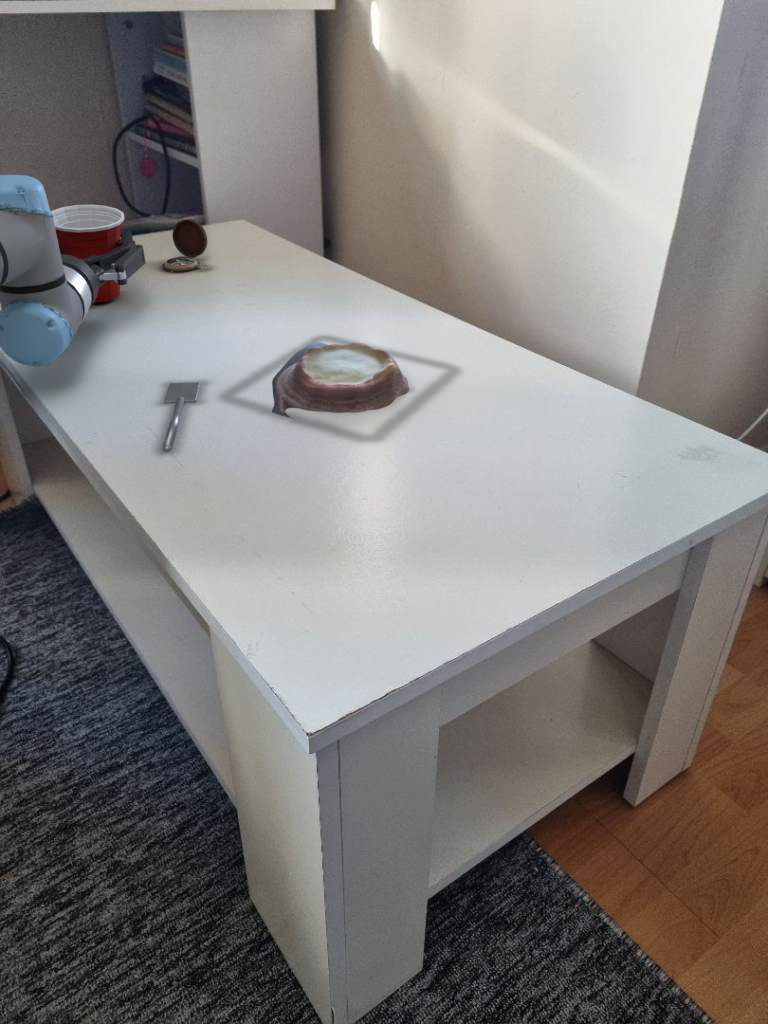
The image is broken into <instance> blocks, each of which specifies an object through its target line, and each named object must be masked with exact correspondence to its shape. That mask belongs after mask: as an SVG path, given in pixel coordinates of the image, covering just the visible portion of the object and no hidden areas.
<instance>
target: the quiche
mask: <svg viewBox="0 0 768 1024" xmlns="http://www.w3.org/2000/svg"><path fill="white" fill-rule="evenodd" d="M271 386H272V387H271V388H272V398H273V407H272V409H271V413H273V414H276V415H279V416H283V417H286V418H289V419H293V420H295V418H293V417H291V416H289V414H287V413H286V411H287V410H288V409H297V410H298V409H299V410H302V411H303V410H304V411H309V412H317V413H320V412H321V413H333V414H347V413H350V414H351V413H352V414H357V413H363V412H367V411H376V410H380V409H384V408H387V407H388V406H391V404H393V403H394V401H395V400H396V399H397V398H399V397H402V396H404V395H406V394H408V393H409V392H410V386H409V381H408V378H407V377H406V376H405V375H404V374H403V372H402V370H401V369H400V367H399V365H398V363H397V361H396V360H395V358H394V357H393V356H392V355H391V354H390V352H388V351H387V350H386V349H382V348H379V347H374V346H371V345H369V344H367V343H365V342H350V343H347V344H346V343H345V344H343V343H342V344H340V343H331V344H328V343H323V342H312V343H310V344H308V345H306V346H305V347H303V348H301V349H300V350H298V351H297V352H295V353H294V354H293V355H292V356H291V357H290V358H289V359H288V360H287V361H286V363H285V364H284V365H282V367H281V368H280V369H279V371H278V372H276V374H275V375H274V377H273V378H272V381H271Z"/></svg>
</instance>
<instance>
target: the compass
mask: <svg viewBox="0 0 768 1024" xmlns="http://www.w3.org/2000/svg"><path fill="white" fill-rule="evenodd" d="M171 237H172V242H173V244H174V246H175V248H176V250H177V251H178V252H179V253H180V254H181V255H183V256H175V257H170V258H167V259H166V260H165V262H164V263H162V264H161V265H162V270H163V271H165V272H168V273H171V274H183V273H190V272H193V271H197V270H198V269H199V270H206V269H209V268H210V266H209V264H201V263H200V261H199V260H197V259H196V257H199V256H201V255H203V254H204V252H205V251H206V249H207V246H208V235H207V232H206V230H205V228H204V227H203V225H202V224H201V223H200V222H199V221H197V220H196V219H193V218H190V217H187V218H183V219H181V220H179V221H177V223H176V224H174V227H173V229H172V236H171ZM204 266H205V267H204Z"/></svg>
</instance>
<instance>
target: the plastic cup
mask: <svg viewBox="0 0 768 1024" xmlns="http://www.w3.org/2000/svg"><path fill="white" fill-rule="evenodd" d="M50 211H51V213H52V214H53V216H54V217H53V221H54V225H55V230H56V235H57V240H58V244H59V248H60V251H61V254H64V255H71V256H74V257H76V258H79V259H85V258H87V257H89V256H91V255H98V256H100V255H102V254H104V253H106V252H108V251H111V250H113V249H115V248H117V247H118V242H119V240H120V239H121V234H122V233H121V231H122V226H123V222H124V221H125V214H124V212H123V211H122V210H120V209H118V208H116V207H112V206H107V205H101V204H100V205H99V204H75V205H68V206H62V207H59V208H56V209H53V210H50ZM120 291H121V285H118V282H114V280H106V283H105V284H104V285H102V286H100V287H99V290H98V294H97V297H96V299H95V301H94V303H103V302H104V303H105V302H109V301H112V300H115V299H117V298H118V297H119V296H120V293H121V292H120Z"/></svg>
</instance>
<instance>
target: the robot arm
mask: <svg viewBox="0 0 768 1024" xmlns="http://www.w3.org/2000/svg"><path fill="white" fill-rule="evenodd" d="M51 211H52V210H51V207H50V204H49V200H48V197H47V193H46V189H45V187H44V184H43V183H42V182H41V181H40V180H38V179H37V178H35V177H33V176H30V175H23V174H1V175H0V308H1V309H0V349H1V350H2V352H3V353H5V354H6V355H7V357H9V358H10V359H12V360H13V361H15V362H17V363H19V364H22V365H24V366H28V367H43V366H48V365H50V364H52V363H54V362H55V361H56V360H58V359H59V358H60V357H61V356H62V355H63V353H64V352H65V351H66V350H68V349H69V348H70V345H71V343H72V341H73V338H74V336H76V333H77V331H78V330H79V328H80V326H81V324H82V323H83V321H84V320H85V317H86V316H87V314H88V312H89V310H91V308H92V306H93V305H94V303H95V302H94V301H95V299H96V297H97V294H98V290H99V287H100V286H102V285H104V284H105V283H106V280H114V282H118V285H120V286H126V285H128V280H129V279H130V278H131V277H132V276H133V275H134V274H135V273H137V271H139V270H140V269H141V268H142V267H143V266H144V265H145V264H146V263H147V262H146V255H145V250H144V245H142V244H136V241H135V240H134V239H133V232H132V229H126V230H125V231H124V232H123V234H122V235H121V236H120V240H119V242H118V247H117V248H115V249H113V250H111V251H108V252H106V253H104V254H102V255H100V256H98V255H91V256H89V257H87V258H85V259H79V258H76V257H74V256H71V255H64V254H61V251H60V248H59V244H58V240H57V235H56V230H55V225H54V221H53V217H54V216H53V214H52V213H51Z"/></svg>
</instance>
